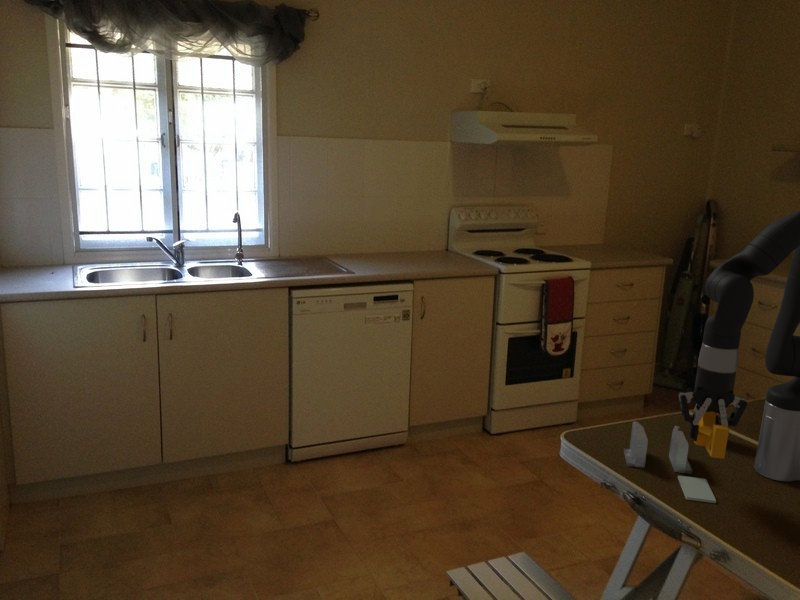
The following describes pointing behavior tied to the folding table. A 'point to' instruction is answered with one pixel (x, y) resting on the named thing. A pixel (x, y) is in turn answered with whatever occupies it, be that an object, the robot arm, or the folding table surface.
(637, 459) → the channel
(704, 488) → the pad
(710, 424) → the pipe clamp
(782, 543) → the folding table surface
